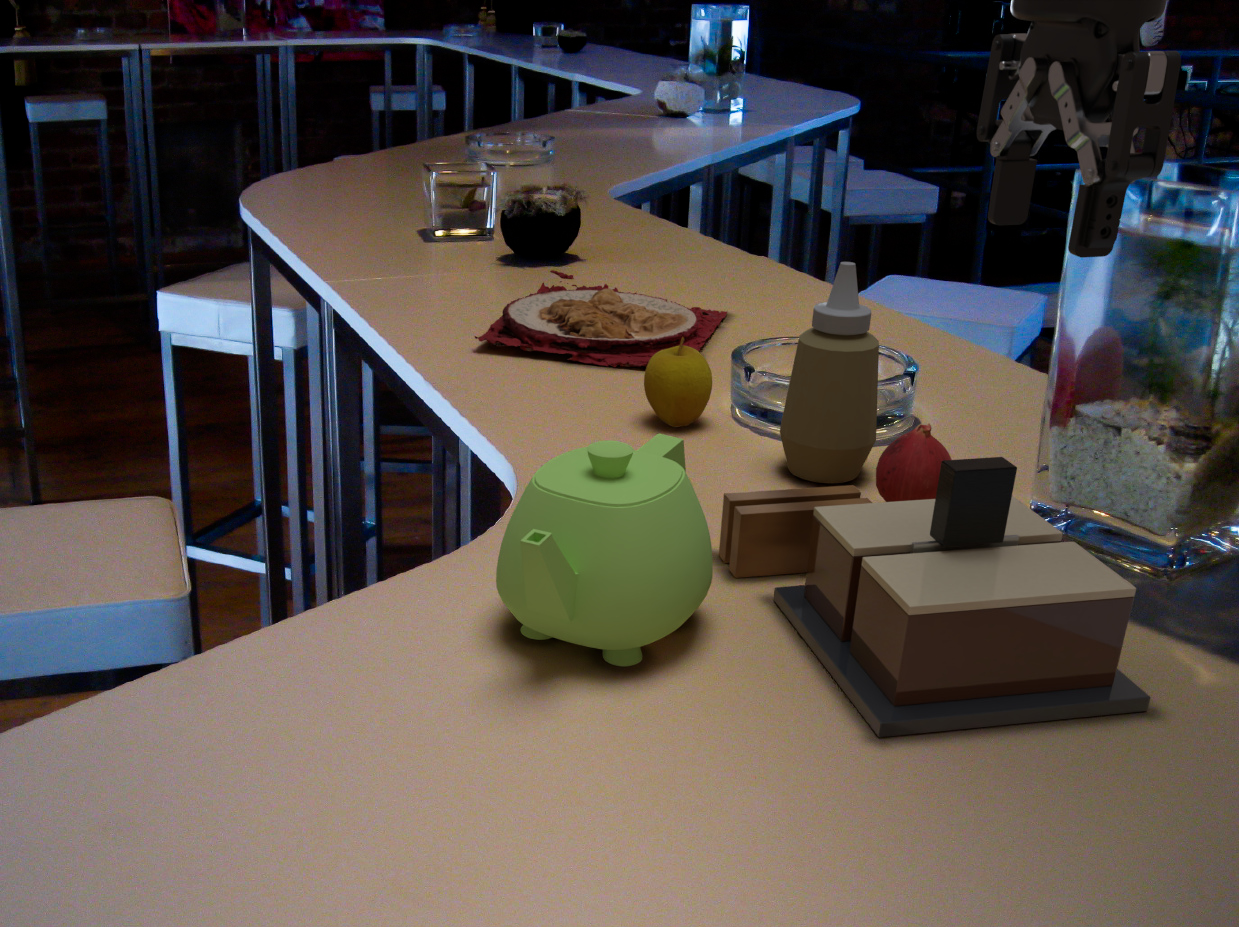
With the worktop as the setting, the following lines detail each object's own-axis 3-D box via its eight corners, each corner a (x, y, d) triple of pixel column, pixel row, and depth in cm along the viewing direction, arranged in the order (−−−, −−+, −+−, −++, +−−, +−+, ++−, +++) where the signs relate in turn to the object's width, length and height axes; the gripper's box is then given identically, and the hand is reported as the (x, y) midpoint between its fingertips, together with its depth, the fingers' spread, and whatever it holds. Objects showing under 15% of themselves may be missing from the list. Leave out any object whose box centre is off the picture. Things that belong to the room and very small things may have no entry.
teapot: (620, 725, 73) (630, 527, 68) (431, 661, 79) (427, 475, 74) (754, 591, 88) (771, 421, 83) (587, 546, 95) (592, 385, 89)
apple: (688, 408, 123) (694, 328, 120) (721, 429, 118) (728, 346, 114) (629, 416, 121) (633, 335, 118) (660, 438, 116) (665, 353, 112)
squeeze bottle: (768, 454, 112) (789, 251, 104) (860, 456, 112) (887, 253, 104) (782, 489, 105) (805, 274, 97) (880, 492, 105) (911, 276, 97)
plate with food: (472, 354, 140) (472, 324, 138) (542, 294, 161) (543, 267, 160) (684, 380, 133) (686, 348, 131) (728, 313, 155) (730, 285, 153)
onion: (870, 528, 98) (883, 431, 95) (869, 500, 103) (882, 407, 100) (948, 536, 97) (964, 438, 93) (944, 507, 102) (959, 413, 98)
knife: (991, 627, 82) (1025, 454, 77) (1006, 640, 80) (1041, 465, 75) (890, 636, 81) (917, 461, 76) (903, 650, 79) (931, 472, 74)
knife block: (845, 545, 95) (853, 484, 93) (866, 568, 92) (875, 505, 90) (718, 555, 94) (723, 493, 91) (735, 578, 90) (741, 514, 88)
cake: (1000, 582, 90) (1019, 483, 87) (1147, 711, 75) (1177, 597, 72) (773, 600, 87) (783, 498, 84) (878, 738, 72) (896, 621, 69)
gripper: (1264, -82, 59) (1186, 265, 66) (1088, -79, 71) (1038, 212, 78) (1118, -82, 58) (1053, 271, 65) (965, -79, 70) (925, 216, 77)
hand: (1045, 238), depth 72 cm, fingers open, 8 cm apart
